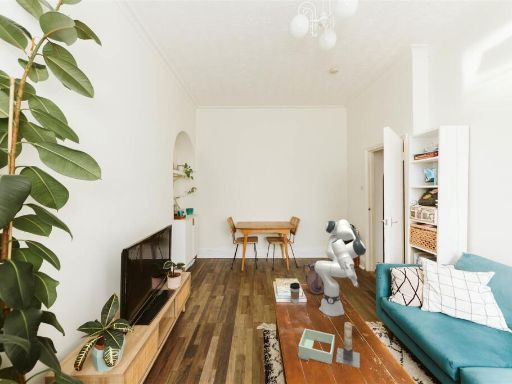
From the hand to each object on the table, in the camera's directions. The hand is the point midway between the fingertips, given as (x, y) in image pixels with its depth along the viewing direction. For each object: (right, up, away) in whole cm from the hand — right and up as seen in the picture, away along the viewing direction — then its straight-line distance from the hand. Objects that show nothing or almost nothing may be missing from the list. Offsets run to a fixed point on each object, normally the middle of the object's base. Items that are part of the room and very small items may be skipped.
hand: (356, 286), depth 145 cm
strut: (-9, -36, -9) cm, 38 cm away
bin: (-24, -38, -2) cm, 45 cm away
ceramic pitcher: (-7, -35, +78) cm, 86 cm away
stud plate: (-8, -38, -9) cm, 40 cm away
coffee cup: (-27, -36, +59) cm, 75 cm away
